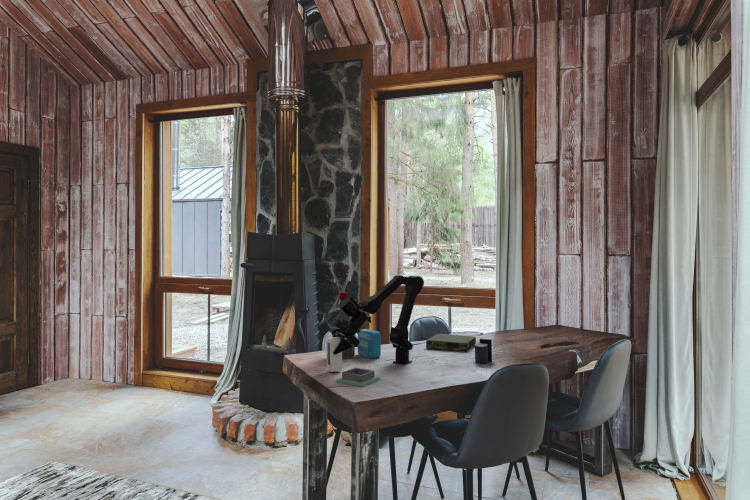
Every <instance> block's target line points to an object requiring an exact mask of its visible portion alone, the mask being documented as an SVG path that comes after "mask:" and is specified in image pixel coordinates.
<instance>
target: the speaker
mask: <svg viewBox="0 0 750 500" xmlns="http://www.w3.org/2000/svg"><path fill="white" fill-rule="evenodd" d="M492 341H493V340H492V339H491V338H479V341H478V342H476V343H475V344H474V362H475V363H476V364H480V365H486V364H488V363H490V362H491V363H492V362H493V345H492Z"/></svg>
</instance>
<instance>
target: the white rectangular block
mask: <svg viewBox="0 0 750 500" xmlns="http://www.w3.org/2000/svg"><path fill="white" fill-rule="evenodd" d="M339 343H340V338H338V337H326V370H327V371H329V372H330V373H333V372H341V371H343V359H342V352H340V353H338V354H336V355H334V354H333V352H334V350H335V349H336V347H337V346H338V344H339Z"/></svg>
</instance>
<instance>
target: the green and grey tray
mask: <svg viewBox="0 0 750 500" xmlns="http://www.w3.org/2000/svg"><path fill="white" fill-rule="evenodd" d="M375 372H376V371H375V370H373V369H366V368H360V367H353V368H350V369H348V370H345V371H343V372H341V377H339V378H336V383H341V384H345V385H351V386H356V387H357V386H358V387H365V386H368V385H370V384H372V383H375V382H377V381H379V380H381V376H378V375H376V373H375Z"/></svg>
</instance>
